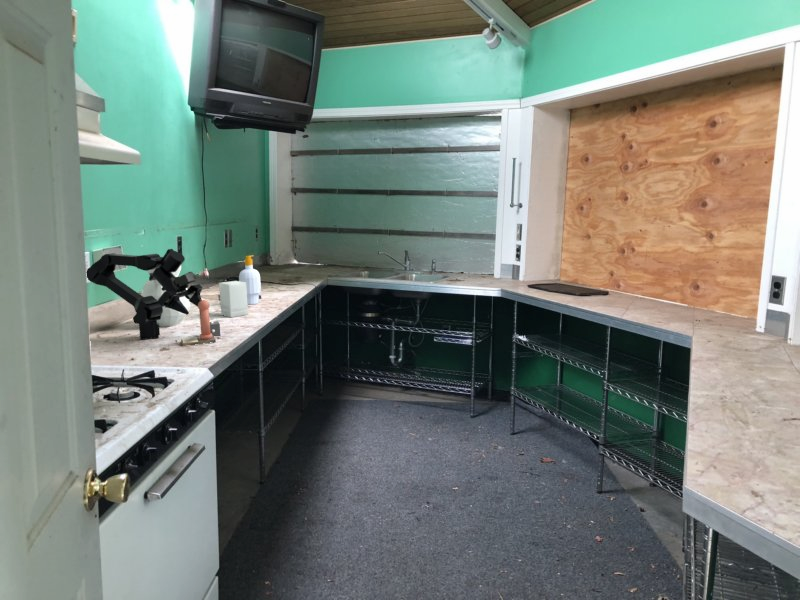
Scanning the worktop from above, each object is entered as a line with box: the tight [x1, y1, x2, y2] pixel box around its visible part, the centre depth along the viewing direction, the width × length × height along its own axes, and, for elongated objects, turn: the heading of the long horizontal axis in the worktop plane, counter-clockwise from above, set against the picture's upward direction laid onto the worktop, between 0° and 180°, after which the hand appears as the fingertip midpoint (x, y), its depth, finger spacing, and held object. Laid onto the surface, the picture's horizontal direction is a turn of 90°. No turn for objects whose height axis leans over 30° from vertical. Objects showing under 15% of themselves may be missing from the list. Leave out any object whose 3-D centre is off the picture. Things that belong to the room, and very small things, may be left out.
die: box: [210, 320, 221, 337], centre depth 207 cm, size 5×6×6 cm
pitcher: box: [141, 265, 192, 327], centre depth 227 cm, size 19×18×25 cm
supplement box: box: [218, 280, 249, 318], centre depth 245 cm, size 9×9×15 cm
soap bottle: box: [238, 255, 262, 306], centre depth 271 cm, size 10×10×24 cm
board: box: [180, 336, 217, 347], centre depth 198 cm, size 11×7×1 cm, turn 116°
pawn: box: [197, 299, 213, 340], centre depth 197 cm, size 4×4×14 cm
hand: (196, 311), depth 198 cm, fingers open, 9 cm apart
